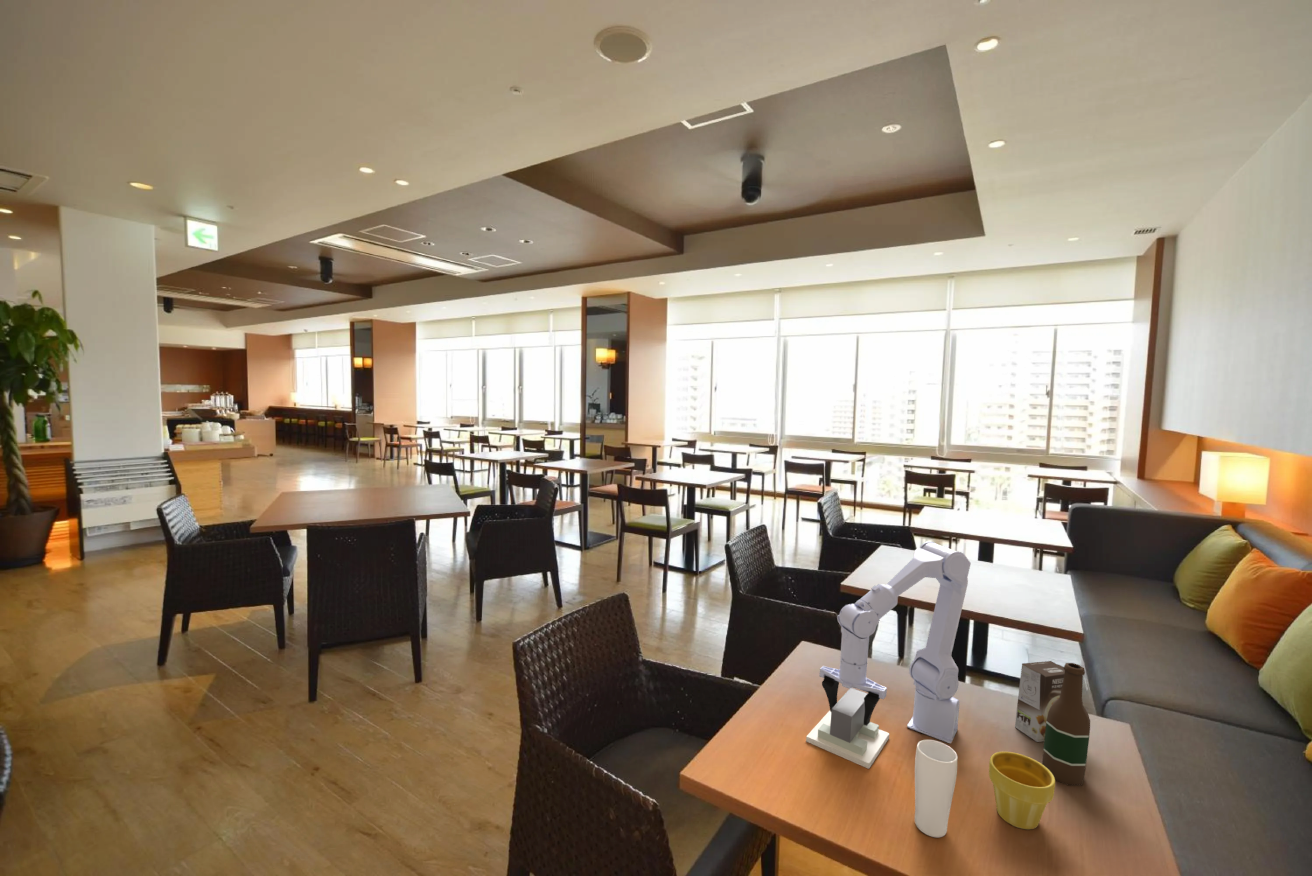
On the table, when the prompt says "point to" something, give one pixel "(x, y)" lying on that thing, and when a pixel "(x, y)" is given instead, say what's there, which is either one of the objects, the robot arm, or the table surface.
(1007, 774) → the plant pot
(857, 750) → the stand
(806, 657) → the table surface
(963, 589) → the robot arm
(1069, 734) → the beer bottle
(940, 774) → the drinking glass
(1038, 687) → the coffee box
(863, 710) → the grey upright block
